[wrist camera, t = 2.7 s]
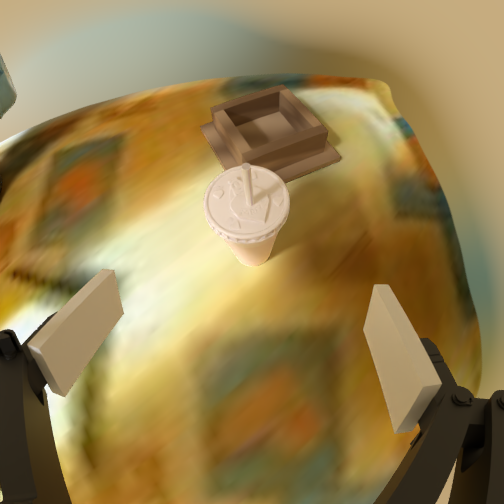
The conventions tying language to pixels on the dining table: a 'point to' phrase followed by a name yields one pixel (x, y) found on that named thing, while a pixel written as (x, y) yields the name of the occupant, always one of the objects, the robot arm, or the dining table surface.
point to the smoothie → (247, 210)
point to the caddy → (269, 134)
